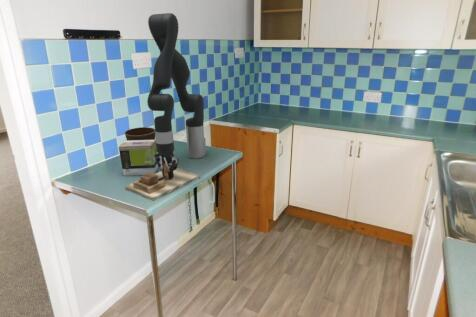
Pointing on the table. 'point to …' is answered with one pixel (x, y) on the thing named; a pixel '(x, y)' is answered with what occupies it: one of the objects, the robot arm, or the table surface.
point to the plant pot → (140, 134)
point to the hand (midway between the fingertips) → (168, 177)
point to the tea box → (138, 157)
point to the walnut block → (154, 177)
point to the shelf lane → (163, 184)
